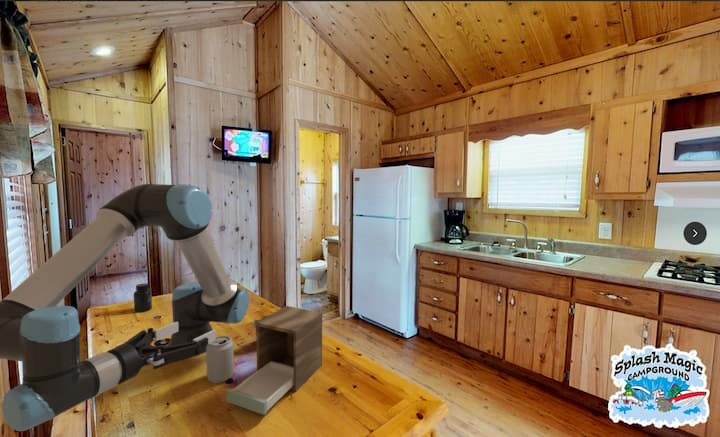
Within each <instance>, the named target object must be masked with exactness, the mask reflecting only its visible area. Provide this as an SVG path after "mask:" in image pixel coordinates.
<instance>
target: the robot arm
mask: <svg viewBox="0 0 720 437" xmlns="http://www.w3.org/2000/svg"><path fill="white" fill-rule="evenodd" d="M212 209H213V204H212V201H211V198H210V197H209V195H208V194H207V192H206V191H205V190H203V189H202V188H201V187H199V186H196V185H189V184H185V183H178V184H156V183H155V184H154V183H145V184H140V185H136V186H133V187H131V188H129V189H127V190H124V191H123V192H121V193H119V194H117V195H116V196H115V197H113V198H112V199H110V200H109V201H108V202H107V203H106V204H104V205H103V206H102V207H101V208H99V209H98V210H97V211H96V213H95V219H93V220H92V221H91V222H90V223H89V224H88V225H87V226H86V227H85V228H83V229H82V230H81V231H79V232H78V233H77V234H76V235H75V236H74V237H73V238H71V240H69V241H68V242H67V243H66V244H65V245H64V246H62V248H60V249H59V250H58V251H57V252H55V254H53V255H52V256H51V257H50V258H49V259H48V260H47V261H45V262H44V263H43V264H42V265H40V267H38V268H37V269H36V270H34V272H33V273H31V274H30V275H29V276H28V277H27V278H26V279H25V280H24V281H23V282H21V283H20V284H19V285H17V287H15V288H14V289H12V291H10V293H9V294H8V295H6V296H5V297H4V298H3V299H2V300H1V301H0V359H3V360H8V361H16V362H21V365H22V369H21V370H22V383H21V384H19V385H17V386H15V387H13V388H11V389H9V390H8V391H7V392H5V394H4V396H3V400H2V403H1V409H2V415H3V417H4V418H3V419H4V420H5V422H6V424H7V425H8V427H9V428H10V429H12V430H15V431H16V432H24V431H27V430H30V429H31V428H34V427H37V426H39V425H41V424H43V423H45V422H47V421H51V420H53V419H55V418H56V417H57V416H60V415H61V414H63V413H65V412H67V411H69V410H71V409H72V408H75V407H76V406H77V407H78V406H79V405H81V404H82V403H85V402H87V401H88V400H91V399H93V398H94V397H96V398H97V397H98V396H99V395H100V394H102V393H104V392H106V391H108V390H111V389H112V388H114V387H116V386H117V385H121V384H123V383H125V382H126V381H129V380H131V379H133V378H135V377H136V376H137V375H138V374H139V372H140V370H141V369H142V368H143V367H145V366H149V365H152V367H153V369H154V370H157V369H160V368H163V367H164V366H167V365H170V364H174V363H177V362H181V361H183V360H188V359H190V358H195V357H198V356H200V355H201V354H202V353H206V347H207V345H208V344H209V343H211V342H213V341H215V340H216V337H217V335H216V334H217V332H216V329H213V328H212V325H211V323H210V322H213V323H220V324H228V325H230V324H238V323H239V324H240V322H242V321H243V320H244V318H245V316H246V315H247V312H248V310H249V307H250V300H251V299H250V297H251V296H250V293H249V291H248V290H245V288H243V289H240V288H239V286H238V283H237V282H236V281H235V280H234V279H232V278H229V275H228V273H227V270H226V269H225V267H224V264H223V262H222V260H221V258H220V255H219V253H218V252H217V249H216V246H215V244H214V243H213V240H212V238H211V236H210V232H208V228H209V226H210V221H211V219H212V216H213V211H212ZM145 227H160V228H161V229H162V231H163V233H164V235H165V236H166V238H167V239H169V240H170V241H174V242H176V243H177V246H178V247H179V249H180V251H181V252H182V255H183V256H184V258H185V260H186V262H187V264H188V266H189V267H190V269H191V271H192V273H193V275H194V277H195V279H196V281H192V282H188V283H184V284H181V285H178V286H177V287H175V288H174V289H173V290H172V299H171V306H172V322H171V323H170V324H167V325H165V326H162V327H159V328H157V329H154V328H153V327H148V328H147V330H143V329H142V330H141V331H139V332H138V333H136V334H135V335H134V336H132V337H131V338H129V339H128V340H127V341H125V342H123V343H121V344H119V345H117V346H115V347H114V348H112V349H109V350H107V351H104V352H101V353H98V354H96V355H93V356H91V357H89V358H86V359H84V360H81V356H80V355H81V342H80V341H81V340H80V339H81V334H80V333H81V324H80V320H79V311H78V310H77V308H75V307H74V306H69V305H61V306H59V305H58V304H59V303H61V301H62V300H64V298H66V296H67V295H69V294H70V292H72V290H73V289H74V288H75V287H76V286H78V284H79V283H80V282H82V281H83V279H84V278H85V277H86V276H87V275H88V274H89V273H90V272H91V271H93V269H95V267H96V266H97V265H98V264H99V263H100V262H101V261H102V260H103V259H104V258H105V257H106V256H107V255H108V254H109V253H110V252H111V251H112V250H113V249H114V248H115V247H116V246H117V245H118V244H119V243H120V242H122V240H123V239H124V238H125V237H126V238H127V237H131V236H133V235H134V234H135V233H136V232H137V231H138V230H140V229H142V228H145ZM169 336H170V340H169V342H168V344H167V345H164V344H159V345H152V343H153V341H157V342H158V341H159V340H162V339H164V338H167V337H169Z"/></svg>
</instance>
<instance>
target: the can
mask: <svg viewBox="0 0 720 437" xmlns="http://www.w3.org/2000/svg"><path fill="white" fill-rule="evenodd" d="M205 353H206V379H207V380H208V381H209V382H211V383H214V384H221V383H224V382H226V381H228V380H230V378H231V377H233V374H234V373H235V372H234V367H235V366H234V365H235V364H234V362H235V361H234V341H233V340H232V338H231V337H230V336H228V335H218V336H217V335H216V340H215V341H213V342H211V343H209V344H208V345H207V347H206V351H205Z"/></svg>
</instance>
